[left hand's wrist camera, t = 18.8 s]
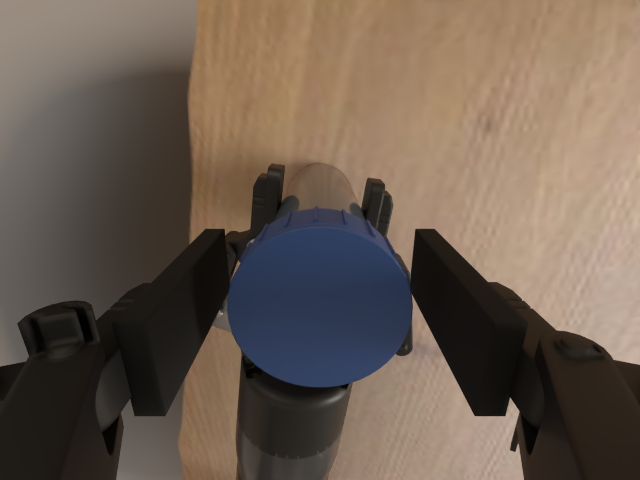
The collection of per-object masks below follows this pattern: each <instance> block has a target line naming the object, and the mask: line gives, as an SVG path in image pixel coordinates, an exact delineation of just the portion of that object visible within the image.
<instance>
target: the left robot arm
mask: <svg viewBox="0 0 640 480" xmlns="http://www.w3.org/2000/svg"><path fill="white" fill-rule="evenodd" d="M229 285H230V278H229V268H228V259H227V249H226V239H225V230H224V229H205V230H204V231H203V232H202V233H201V234H200V235H199V236H198V237H197V238H196V239H195V240H194V241H193V242H192V243H191V244H190V245H189V246H188V247H187V248H186V249H185V250H184V251H183V252H182V253H181V254H180V255H179V256H178V257H177V258H176V259H175V260H174V261H173V262H172V263H171V264H170V265H169V266H168V267H167V268H166V269H165V270H164V271H163V272H162V273H161V274H160V275H159V276H158V277H157V278H156V279H155V280H154V281H153V282H152V283H143V284H141V285H139V286H137V287H135V288H133V289H132V290H130V291H128V292H127V293H126V294H125V295H124V296H123V297H122V298H120V299H119V301H118V302H116V303H115V304H114V305H113V306H112V307H111V308H110V310H107V311H106V312H105V313H104V314H103V315H102V316H101V317H100V318H99V319H98V320H95V316H94V312H93V309H92V305H91V304H89V303H87V302H84V301H68V302H61V303H58V304H53V305H49V306H47V307H44V308H41V309H39V310H36V311H34V312H32V313H31V314H29V315H27V316H25V317H24V318H23V319H22V320H21V321H20V322H18V327H19V329H20V332H21V335H22V338H23V340H24V343H25V346H26V348H27V351H28V354H29V358H28V359H27V361H26V362H22V363H17V364H12V365H6V366H1V367H0V480H116V476H117V469H118V462H119V455H120V449H121V442H122V435H123V428H124V426H123V420H122V416H121V411H122V410H123V408H124V407H125V405H126V404H127V402H128V401H129V399H131V403H132V407H133V411H134V415H135V416H165V415H166V414H167V412H168V410H169V408H170V406H171V404H172V402H173V400H174V398H175V396H176V394H177V392H178V390H179V388H180V386H181V384H182V382H183V380H184V379H185V377H186V375H187V373H188V371H189V369H190V367H191V365H192V363H193V361H194V359H195V357H196V355H197V353H198V351H199V349H200V347H201V346H202V344H203V342H204V340H205V338H206V336H207V334H208V332H209V330H210V328H211V326H212V324H213V322H214V320H215V318H216V316H217V314H218V312H219V311H220V309H221V307H222V305H223V303H224V301H225V299H226V297H227V295H228V293H229V288H230V286H229ZM410 290H411V293H412V295H413V297H414V299H415V301H416V303H417V305H418V307H419V309H420V311H421V312H422V314H423V316H424V318H425V320H426V322H427V324H428V326H429V328H430V330H431V332H432V334H433V336H434V338H435V340H436V342H437V344H438V346H439V347H440V349H441V351H442V353H443V355H444V357H445V359H446V361H447V363H448V365H449V367H450V369H451V371H452V373H453V375H454V377H455V379H456V380H457V382H458V384H459V386H460V388H461V390H462V392H463V394H464V396H465V398H466V400H467V402H468V404H469V406H470V408H471V410H472V412H473V414H474V415H475V416H505V415H506V411H507V407H508V403H509V399H510V398H511V399H512V400H513V402H514V403H515V405H516V406H517V408H518V409H519V411H520V412H519V416H518V420H517V423H516V427H515V431H514V435H513V438H512V442H511V448H510V450H511V451H514V452H515V451H516V448H517V444H519V448H520V454H521V461H522V468H523V475H524V480H640V365H637V364H632V363H627V362H621V361H616V360H613V359H612V357H611V355H610V354H609V353H608V352H607V351H606V350H605V349H604V348H603V347H601V346H600V345H598V344H597V343H595V342H594V341H592V340H590V339H587V338H585V337H583V336H581V335H577V334H574V333H570V332H566V331H556V330H555V329H554V328H553V327H552V326H551V325H550V324H549V323H548V322H547V321H545V320H544V319H543V318H542V317H541V316H540V315H539V314H538V313H537V312H536V311H534V310H533V309H530V306H529V305H528V304H527V303H526V302H525V301H522V299H521V298H520V297H519V296H518V295H517V294H516V293H515V292H514V291H512V290H511V289H509V288H507V287H505V286H503V285H501V284H499V283H497V282H487V281H486V280H485V279H484V278H483V277H482V276H481V275H480V274H479V273H478V272H477V271H476V270H475V269H474V268H473V267H472V266H471V265H470V264H469V263H468V262H467V261H466V260H465V259H464V258H463V257H462V256H461V255H460V254H459V253H458V252H457V251H456V250H455V249H454V248H453V247H452V246H451V245H450V244H449V243H448V242H447V241H446V240H445V239H444V238H443V237H442V236H441V235H440V234H439V233H438V232H437V231H436V230H435V229H416V230H415V239H414V249H413V259H412V268H411V278H410Z"/></svg>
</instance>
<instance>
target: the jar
mask: <svg viewBox="0 0 640 480" xmlns="http://www.w3.org/2000/svg"><path fill="white" fill-rule="evenodd" d="M315 206H318V208H325V209H335V210H339V211H342V209H344V210H345V211H346V212H347V213H349V214H352V215H355V216H357V217H359V218H360V219H362V220H364V221H366V220H365V217H364V215H363V213H362V210H361V208H360V206H359V204H358V201H357V199H356V197H355V194H354V192H353V190H352V188H351V185H350V183H349V181H348V179H347V177H346V176H345V175H344V174H343V173H342V172H341V171H340V170H339V169H337V168H336V167H334V166H331V165H328V164H322V163H318V164H311V165H308V166H306V167H304V168H303V169H301V170H300V171H299V172H297V173H296V175H295V176H294V177H293V179H292V181H291V183H290V185H289V187H288V189H287V192H286V194H285V196H284V199H283V201H282V203H281V205H280V208H279V210H278V212H277V214H276V217H275V219H274V221H276V220H277V219H279V218H281V217H283V216H285V215H287V213H288V212H289V211H291V212H292V213H293V212H297V211H300V210H306V209H315ZM274 221H273V222H274Z"/></svg>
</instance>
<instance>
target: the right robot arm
mask: <svg viewBox="0 0 640 480" xmlns="http://www.w3.org/2000/svg"><path fill="white" fill-rule="evenodd" d="M284 171H285V165H278V164H271V165H270V166H269V168H268V172H267V174H266V173H262V174H261V175H260V176H259V177H258V179H257V181H256V183H255V185H254V188H253V202H252V215H251V228H250V230H248V231H244V232H237V231H231V232H229V233H227V235H226V236H225V239H226V249H227V259H228V268H229V278H230V281H231V279H232V276H233V273H234V270H235V267H236V265H237V262H238V260H240V258H241V256H242V255H243V253H244V251H245V249H246V248H247V246H248V244H249V242H251V243H252V242H253V241H254V240H255V238H256V237H257V236H258V235H259V234H260V233H261V232H262V230H263V228H264V226H265V225H266V224H268V225H270V224H271V223H272V222H273V221H274V219H275V217H276V214H277V212H278V210H279V208H280V205H281V201H282V191H283V181H284ZM392 209H393V202H392V196H391V195H390V194H389V193H388V192H387V191H385V184H384V183H383V182H382V181H381V180H380V179H374V178H368V179H367V182H366V186H365V192H364V197H363V202H362V207H361V210H362V213H363V215H364V217H365V220H368V221H370V224H371V226H373V227H374V228H375V229H376V230H377V231H378V232H379V233H380V234H381V235H382V236H383V237H384V238H385V237H386V236H387V232H388V227H389V223H390V218H391V214H392ZM396 255H397V256H395V257H396V258H398V259H399V261H400V263H401V265H402V267H403V268H404V270H405V272H406V274H407V276H408V278H409V280H407V281H408V283H409V286H410V278H411V274H410V273H409V271H408V269H407V267H406V265H405V264H404V262H403V260H402V258H401V257H400V255H399V254H397V253H396ZM411 294H412V293H411ZM227 299H228V295H227V297H226V299H225V301H224V303H223V305H222V307H221V309H220V311H219V312H218V314H217V316H216V318H215V320H214V322H213V324H212V326H215V327H218V328H221V329H224V330H227V331H230V332H232V331H231V328H230V325H229V321H228V314H227ZM412 347H413V346H412V319H411V323H410V327H409V330H408V333H407V335H406V338H405V340H404V341H403V343H402V345H401V347H400V348H399V349H398V351H397V352H396V353H395V354H397V355H399V356H405V355H407V354H409V353H410V352H411V351H412ZM241 353H242V357H241V371H240V385H239V398H238V411H237V425H236V452H237V472H236V480H328V475H329V471H330V469H331V467H332V465H333V462H334V460H335V457H336V454H337V450H338V446H339V442H340V437H341V433H342V428H343V424H344V419H345V415H346V410H347V406H348V401H349V397H350V392H351V388H352V383H353V382H351V383H348V384H344V385H340V386H333V387H306V386H301V385H295V384H292V383H288V382H285V381H282V380H280V379H278V378H275V377H273V376H272V375H270V374H268V373H266V372H265V371H263V370H262V369H260V368H259V367H258V366H256V365H255V364H254V363H253V362H252V361H251V360H250V359H249V358H248V357H247V356H246V355H245V354H244V352H243V351H242V350H241Z"/></svg>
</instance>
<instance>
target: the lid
mask: <svg viewBox="0 0 640 480" xmlns="http://www.w3.org/2000/svg"><path fill="white" fill-rule="evenodd" d="M395 256H397V255H396V253H395V251H394V249H393V247H392V246H391V244H390V242H389V240H388V238H387V237H385V238H384V237H383V236H382V235H381V234H380V233H379V232H378V231H377V230H376V229H375V228H374V227H373V226H371V224H370V221H368V220H366V221H364V220H362V219H360V218H359V217H357V216H355V215H352V214H349V213H347V212H346V211H345V210H344V209H342V211H339V210H335V209H325V208H318V206H315V209H306V210H300V211H297V212H293V213H292V212H291V211H289V212H288V213H287V215H285V216H283V217H281V218H279V219H277V220H276V221H274V222H272V223H271V224H270V225H268V224H266V225H265V226H264V228H263V230H262V232H261V233H260V234H259V235H258V236H257V237H256V238H255V240H254V241H253V242H252V243H251V242H249V244H248V246H247V248H246V249H245V251H244V253H243V255H242V256H241V258H240V260H239V262H241V264H240V265H239V267H238V269H237V271H236V273H235V275H234V276H233V278H232V280H231V282H230V285H229V286H230V288H229V293H228V299H227V314H228V321H229V325H230V328H231V331H232V334H233V336H234V338H235V340H236V342H237V344H238V345H239V347H240V348H241V350H242V351H243V352H244V354H245V355H246V356H247V357H248V358H249V359H250V360H251V361H252V362H253V363H254V364H255V365H256V366H258V367H259V368H260V369H262V370H263V371H265V372H266V373H268V374H270V375H272V376H273V377H275V378H278V379H280V380H282V381H285V382H288V383H292V384H295V385H301V386H306V387H333V386H340V385H344V384H348V383H351V382H354V381H357V380H360V379H362V378H364V377H366V376H368V375H370V374H372V373H373V372H375V371H377V370H378V369H379V368H381V367H382V366H383V365H384V364H386V363H387V362H388V361H389V360H390V359H391V358H392V357H393V356H394V355H395V353H396V352H397V351H398V349H399V348H400V347H401V345H402V343H403V341H404V340H405V338H406V335H407V333H408V330H409V327H410V323H411V319H412V309H413V304H412V294H411V290H410V286H409V283H408V281H407V280H409V278H408V276H407V274H406V272H405V270H404V268H403V267H402V265H401V263H400V261H399V259H398V258H396V257H395Z"/></svg>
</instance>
